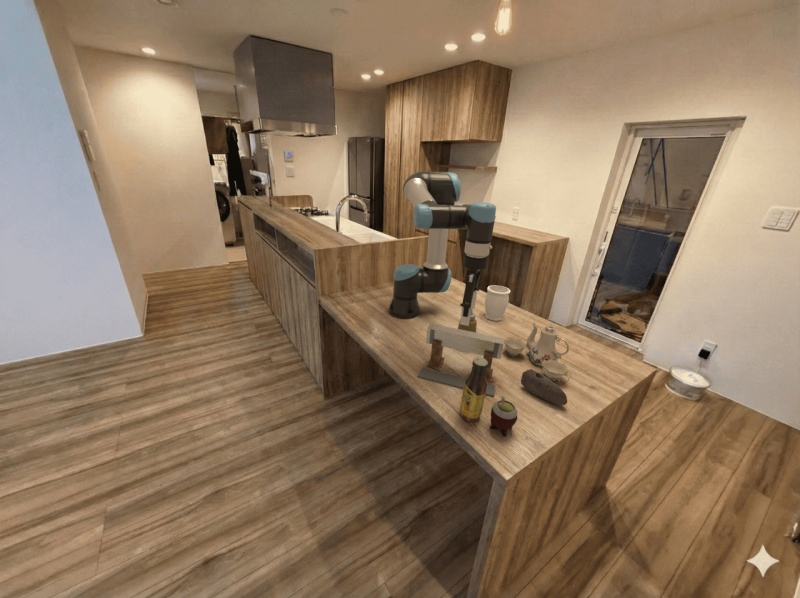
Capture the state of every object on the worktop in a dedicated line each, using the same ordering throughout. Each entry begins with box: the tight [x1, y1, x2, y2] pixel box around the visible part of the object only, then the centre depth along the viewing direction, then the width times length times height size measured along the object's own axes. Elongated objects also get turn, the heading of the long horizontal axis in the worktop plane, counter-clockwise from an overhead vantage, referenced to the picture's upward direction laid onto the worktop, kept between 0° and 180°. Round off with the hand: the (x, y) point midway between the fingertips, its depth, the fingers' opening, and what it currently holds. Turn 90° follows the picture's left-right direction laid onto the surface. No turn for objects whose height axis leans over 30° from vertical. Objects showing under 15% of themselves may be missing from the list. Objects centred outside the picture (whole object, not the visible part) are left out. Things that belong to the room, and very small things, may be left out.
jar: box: [484, 284, 511, 322], centre depth 154 cm, size 11×10×15 cm
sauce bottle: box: [459, 356, 488, 422], centre depth 92 cm, size 7×6×20 cm
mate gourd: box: [489, 395, 518, 438], centre depth 89 cm, size 8×8×15 cm
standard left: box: [426, 341, 445, 371], centre depth 117 cm, size 5×7×11 cm
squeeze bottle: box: [457, 309, 478, 333], centre depth 128 cm, size 8×8×18 cm
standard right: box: [482, 352, 494, 383], centre depth 112 cm, size 5×7×11 cm
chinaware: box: [503, 322, 571, 383], centre depth 120 cm, size 28×17×17 cm, turn 37°
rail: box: [425, 322, 505, 360], centre depth 112 cm, size 26×4×6 cm, turn 70°
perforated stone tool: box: [520, 369, 568, 406], centre depth 104 cm, size 15×5×7 cm, turn 38°
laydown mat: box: [416, 366, 496, 398], centre depth 110 cm, size 26×6×1 cm, turn 70°
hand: (467, 316), depth 108 cm, fingers open, 13 cm apart
